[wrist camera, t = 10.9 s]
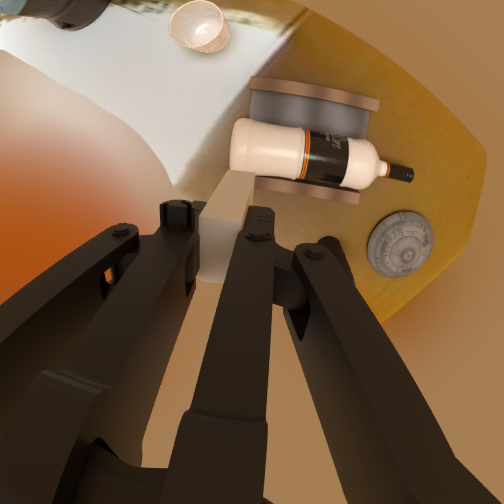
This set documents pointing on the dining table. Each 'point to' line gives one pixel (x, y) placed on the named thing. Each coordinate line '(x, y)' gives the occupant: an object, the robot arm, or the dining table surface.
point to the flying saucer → (400, 244)
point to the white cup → (199, 27)
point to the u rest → (309, 125)
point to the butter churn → (337, 253)
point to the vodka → (308, 155)
